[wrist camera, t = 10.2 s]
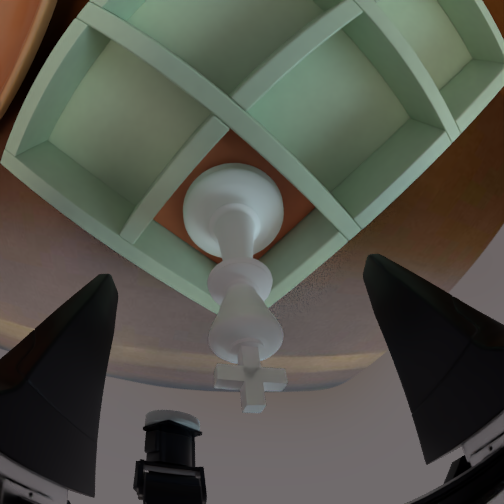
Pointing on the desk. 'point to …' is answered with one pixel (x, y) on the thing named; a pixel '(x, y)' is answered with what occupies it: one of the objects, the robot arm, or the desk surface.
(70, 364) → the robot arm
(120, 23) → the compartment tray
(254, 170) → the chess piece
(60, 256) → the desk surface
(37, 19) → the saucer
